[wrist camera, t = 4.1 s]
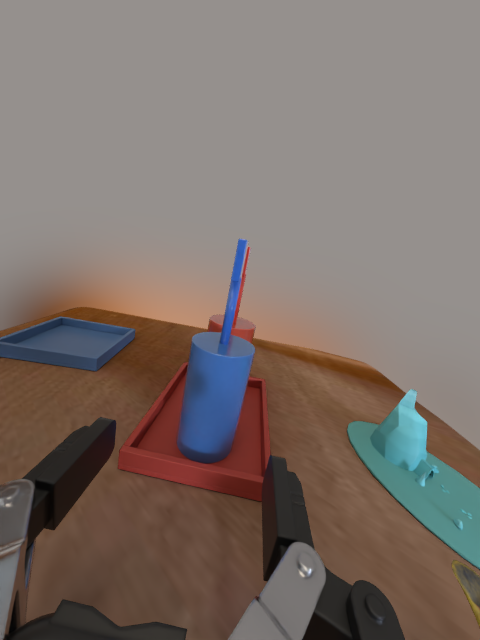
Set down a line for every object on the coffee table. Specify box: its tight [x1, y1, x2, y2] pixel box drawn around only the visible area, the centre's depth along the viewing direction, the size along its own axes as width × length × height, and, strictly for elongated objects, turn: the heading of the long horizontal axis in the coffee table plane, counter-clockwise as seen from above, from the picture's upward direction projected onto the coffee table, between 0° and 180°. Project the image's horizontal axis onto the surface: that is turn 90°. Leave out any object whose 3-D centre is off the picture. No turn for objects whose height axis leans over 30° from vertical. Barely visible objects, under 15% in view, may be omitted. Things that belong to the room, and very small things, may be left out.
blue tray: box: [0, 317, 135, 371], centre depth 39 cm, size 14×14×2 cm
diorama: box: [347, 389, 480, 569], centre depth 24 cm, size 12×20×9 cm, turn 24°
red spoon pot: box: [207, 247, 255, 344], centre depth 30 cm, size 6×6×20 cm
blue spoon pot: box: [176, 239, 255, 464], centre depth 22 cm, size 6×6×20 cm
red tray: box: [118, 362, 271, 502], centre depth 29 cm, size 18×13×2 cm
